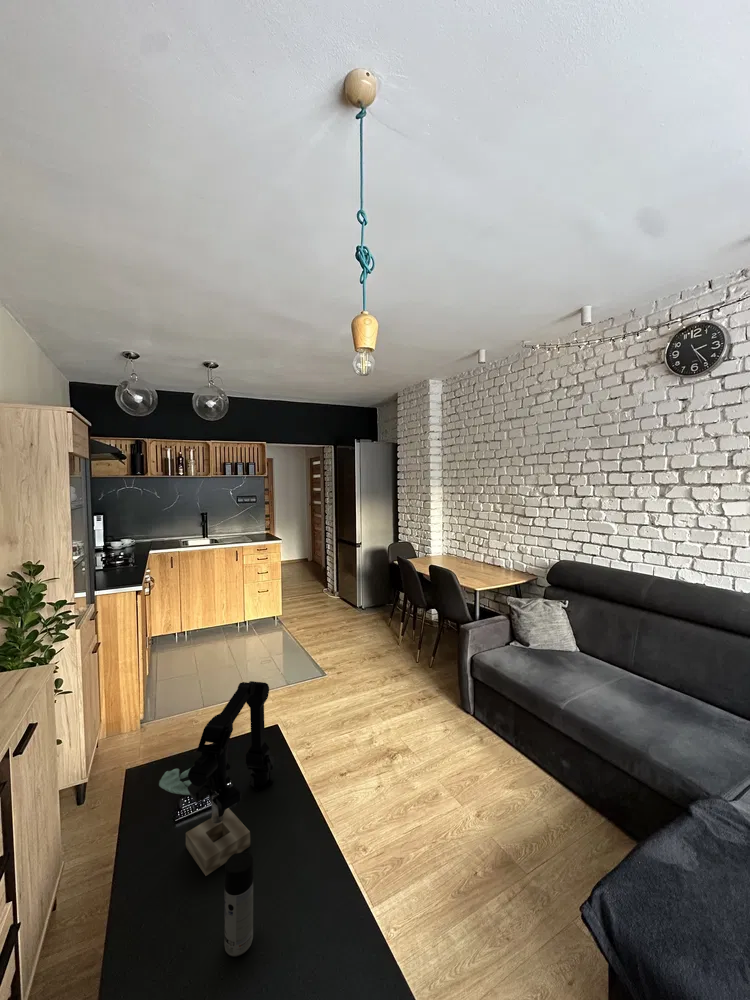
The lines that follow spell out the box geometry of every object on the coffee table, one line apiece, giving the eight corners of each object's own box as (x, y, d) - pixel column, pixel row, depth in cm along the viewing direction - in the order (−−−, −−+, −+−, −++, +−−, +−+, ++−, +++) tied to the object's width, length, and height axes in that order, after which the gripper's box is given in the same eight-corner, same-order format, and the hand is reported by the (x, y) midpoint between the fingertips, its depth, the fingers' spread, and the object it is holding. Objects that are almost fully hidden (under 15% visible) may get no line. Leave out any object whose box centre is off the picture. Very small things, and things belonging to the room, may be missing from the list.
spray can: (228, 929, 105) (228, 851, 104) (256, 926, 105) (255, 849, 105) (221, 958, 98) (220, 875, 98) (250, 956, 99) (250, 873, 98)
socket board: (228, 821, 139) (228, 807, 139) (250, 845, 129) (250, 831, 129) (185, 847, 129) (185, 832, 129) (205, 876, 119) (205, 860, 119)
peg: (220, 812, 131) (220, 787, 131) (226, 818, 129) (225, 793, 129) (209, 819, 129) (209, 793, 128) (215, 825, 126) (214, 799, 126)
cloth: (158, 772, 163) (158, 766, 163) (218, 757, 173) (218, 752, 172) (155, 808, 145) (155, 802, 145) (222, 790, 154) (222, 783, 154)
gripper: (178, 761, 129) (179, 811, 129) (205, 792, 116) (205, 846, 116) (213, 745, 137) (213, 792, 137) (241, 772, 124) (242, 823, 124)
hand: (218, 812), depth 129 cm, fingers closed on peg, 3 cm apart
